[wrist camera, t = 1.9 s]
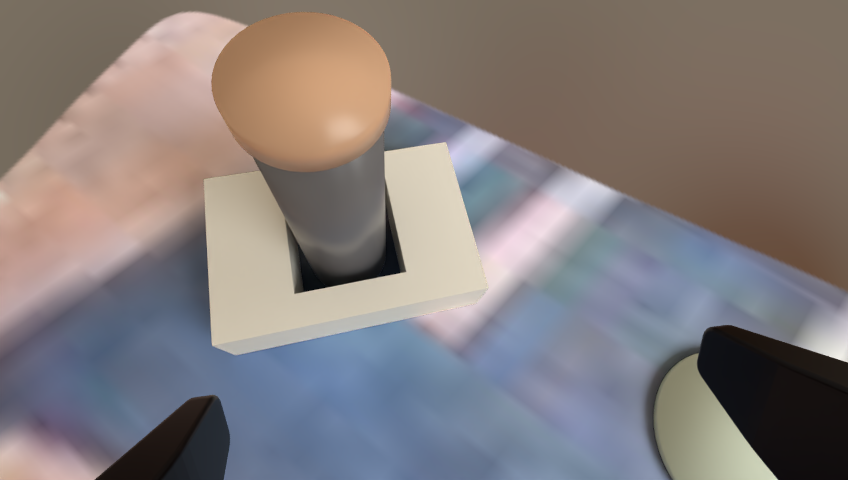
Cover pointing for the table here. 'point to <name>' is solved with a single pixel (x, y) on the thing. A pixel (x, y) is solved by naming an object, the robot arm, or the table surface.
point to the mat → (700, 431)
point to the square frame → (349, 303)
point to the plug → (314, 132)
